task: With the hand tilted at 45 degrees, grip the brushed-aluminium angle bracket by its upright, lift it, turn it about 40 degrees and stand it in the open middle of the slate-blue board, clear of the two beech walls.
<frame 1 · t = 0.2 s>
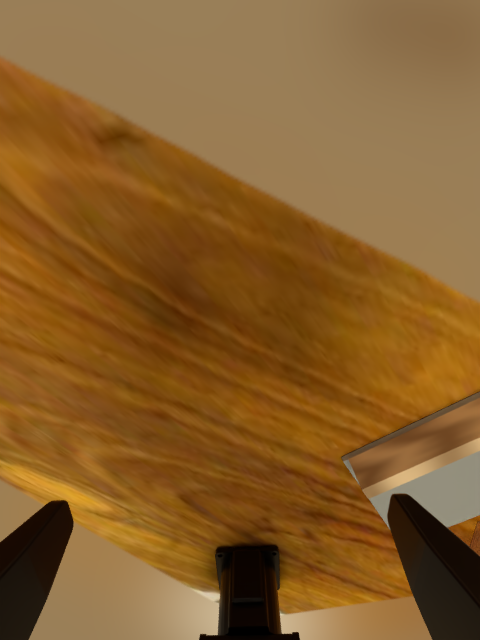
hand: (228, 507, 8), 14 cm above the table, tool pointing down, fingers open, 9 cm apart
board walls: (453, 466, 26), resting on slate board
slate board: (453, 466, 26), on the table
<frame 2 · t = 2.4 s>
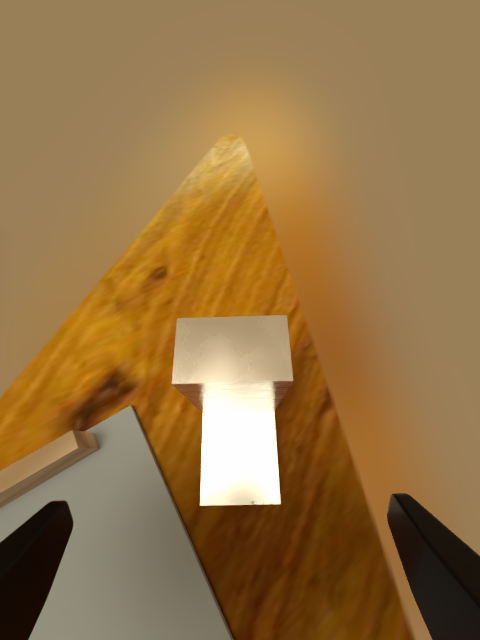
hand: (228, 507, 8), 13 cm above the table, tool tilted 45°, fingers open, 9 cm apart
board walls: (84, 575, 18), resting on slate board
bracket: (238, 395, 23), on the table
slate board: (84, 575, 18), on the table
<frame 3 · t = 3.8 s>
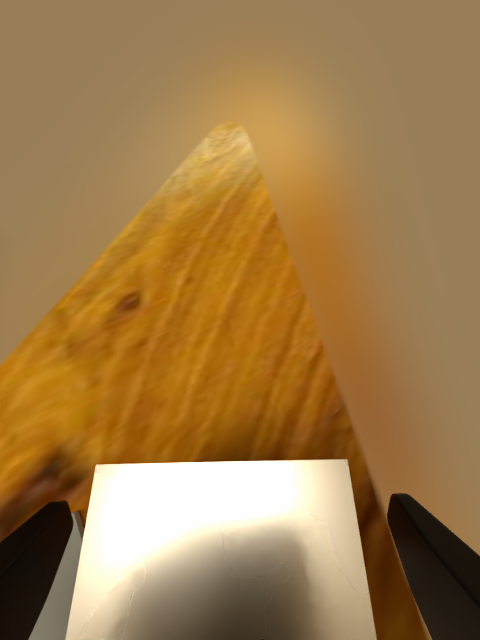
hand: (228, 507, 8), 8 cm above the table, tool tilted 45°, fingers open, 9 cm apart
bracket: (238, 493, 15), on the table
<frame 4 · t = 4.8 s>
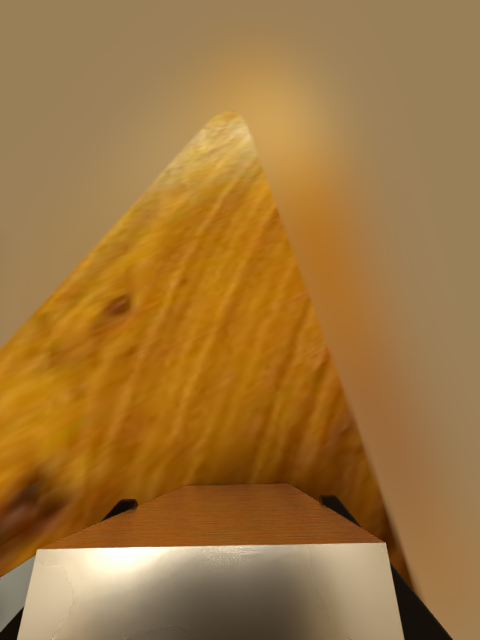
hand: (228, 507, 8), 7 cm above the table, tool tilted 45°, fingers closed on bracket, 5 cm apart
bracket: (237, 521, 13), on the table, touching gripper
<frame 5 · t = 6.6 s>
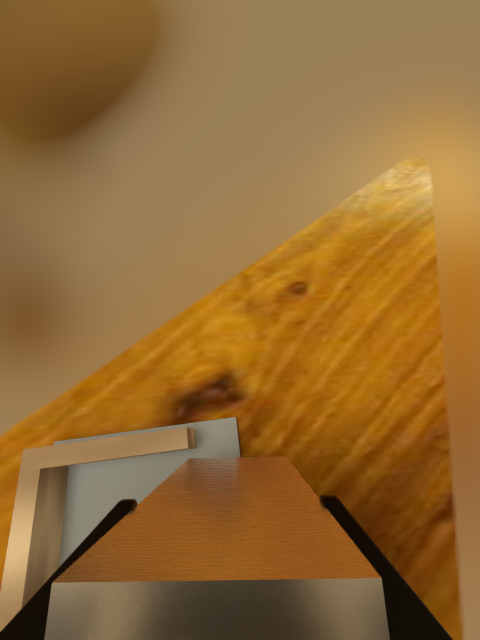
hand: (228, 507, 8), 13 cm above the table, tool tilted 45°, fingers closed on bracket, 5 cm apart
board walls: (147, 565, 18), resting on slate board
bracket: (237, 490, 15), point 6 cm above the table, tilted 7°, touching gripper
slate board: (147, 565, 18), on the table
when the fingers open (9 cm above the table, at t = 8.3 s): bracket stays where it is, resting on slate board.
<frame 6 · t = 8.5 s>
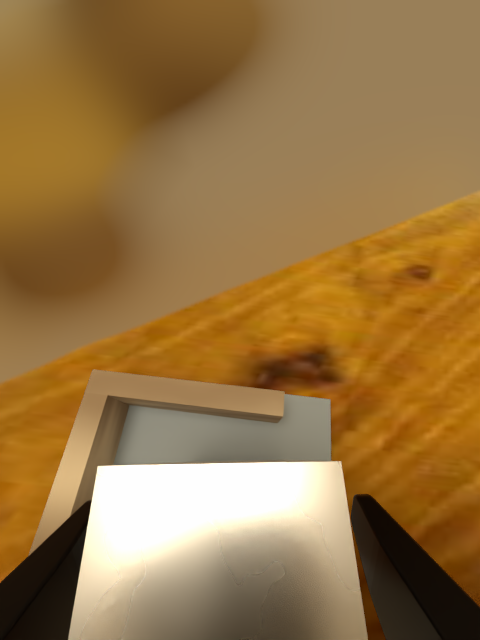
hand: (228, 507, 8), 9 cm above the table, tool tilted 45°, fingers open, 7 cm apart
board walls: (199, 546, 15), resting on slate board
bracket: (237, 492, 15), resting on slate board
slate board: (199, 546, 15), on the table
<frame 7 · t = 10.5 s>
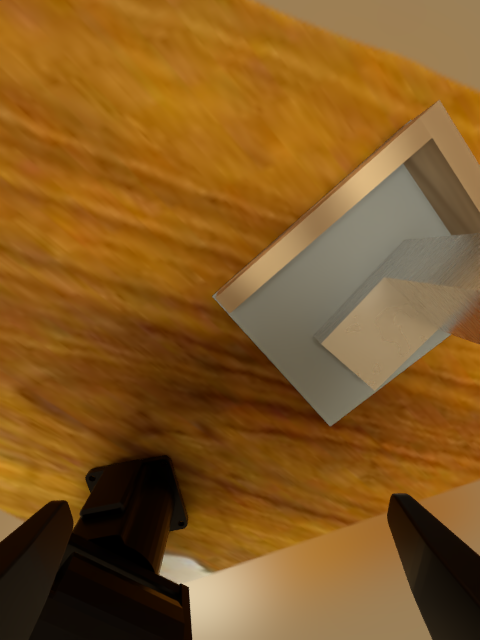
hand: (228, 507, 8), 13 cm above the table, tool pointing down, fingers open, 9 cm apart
board walls: (362, 289, 20), resting on slate board
bracket: (412, 282, 19), resting on slate board
slate board: (362, 289, 20), on the table
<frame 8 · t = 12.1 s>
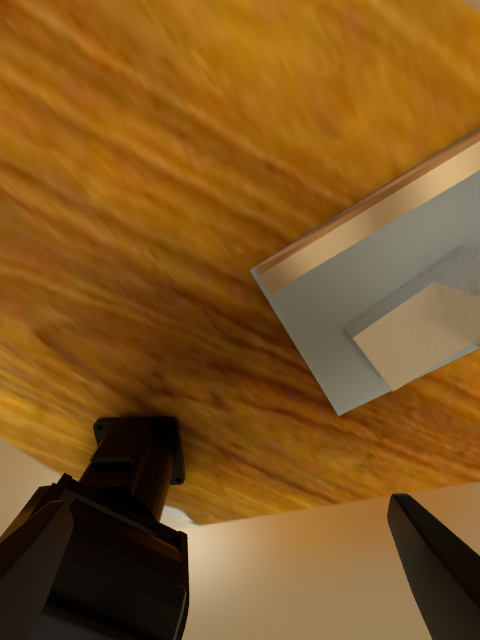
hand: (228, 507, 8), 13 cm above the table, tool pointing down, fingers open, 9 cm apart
board walls: (403, 288, 19), resting on slate board
bracket: (455, 290, 19), resting on slate board
slate board: (403, 288, 19), on the table
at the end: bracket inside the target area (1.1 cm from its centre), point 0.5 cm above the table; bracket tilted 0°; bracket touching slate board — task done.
